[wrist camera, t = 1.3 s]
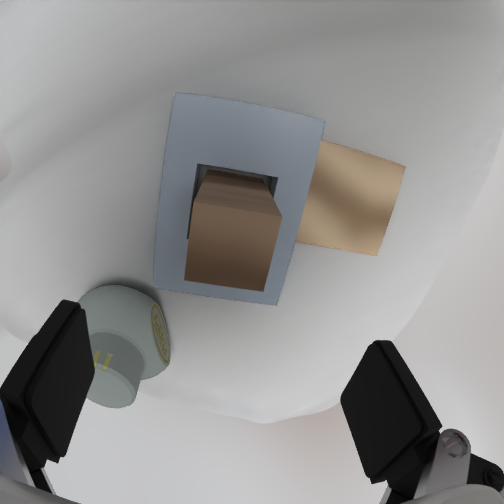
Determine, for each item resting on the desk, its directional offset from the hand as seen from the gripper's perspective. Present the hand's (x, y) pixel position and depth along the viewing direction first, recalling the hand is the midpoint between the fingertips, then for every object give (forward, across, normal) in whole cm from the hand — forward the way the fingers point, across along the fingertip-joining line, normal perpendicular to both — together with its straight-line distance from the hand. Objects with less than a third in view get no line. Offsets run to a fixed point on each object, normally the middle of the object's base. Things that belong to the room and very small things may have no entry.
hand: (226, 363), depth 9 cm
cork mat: (+18, -10, -3) cm, 21 cm away
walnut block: (+18, 0, -1) cm, 18 cm away
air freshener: (+18, +8, +13) cm, 24 cm away
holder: (+18, 0, -1) cm, 18 cm away
